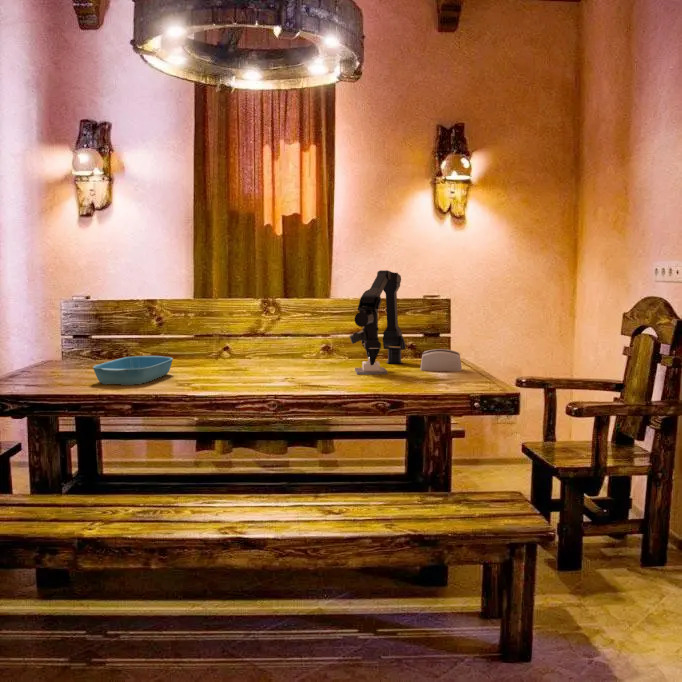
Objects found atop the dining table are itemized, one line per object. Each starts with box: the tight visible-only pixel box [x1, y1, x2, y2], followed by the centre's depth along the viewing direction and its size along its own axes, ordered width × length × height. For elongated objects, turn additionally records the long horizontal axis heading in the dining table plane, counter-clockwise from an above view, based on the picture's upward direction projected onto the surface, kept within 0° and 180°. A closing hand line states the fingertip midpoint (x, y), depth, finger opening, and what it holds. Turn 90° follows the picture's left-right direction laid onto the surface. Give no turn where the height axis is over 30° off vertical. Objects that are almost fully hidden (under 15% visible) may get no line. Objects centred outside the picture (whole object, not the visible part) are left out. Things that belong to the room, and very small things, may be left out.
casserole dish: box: [92, 355, 174, 386], centre depth 279 cm, size 37×22×7 cm, turn 170°
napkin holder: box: [420, 348, 462, 372], centre depth 296 cm, size 17×5×10 cm, turn 80°
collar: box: [361, 360, 381, 371], centre depth 292 cm, size 6×6×3 cm
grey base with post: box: [354, 357, 388, 376], centre depth 292 cm, size 12×12×8 cm
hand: (370, 363), depth 292 cm, fingers open, 9 cm apart
